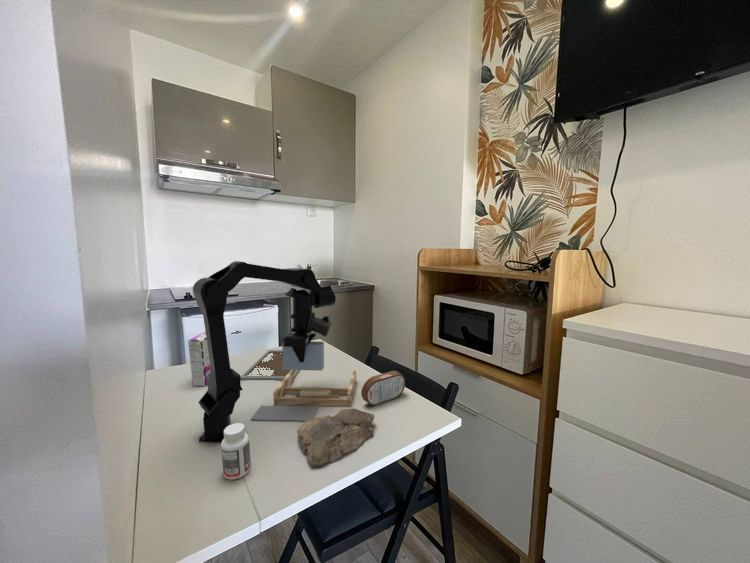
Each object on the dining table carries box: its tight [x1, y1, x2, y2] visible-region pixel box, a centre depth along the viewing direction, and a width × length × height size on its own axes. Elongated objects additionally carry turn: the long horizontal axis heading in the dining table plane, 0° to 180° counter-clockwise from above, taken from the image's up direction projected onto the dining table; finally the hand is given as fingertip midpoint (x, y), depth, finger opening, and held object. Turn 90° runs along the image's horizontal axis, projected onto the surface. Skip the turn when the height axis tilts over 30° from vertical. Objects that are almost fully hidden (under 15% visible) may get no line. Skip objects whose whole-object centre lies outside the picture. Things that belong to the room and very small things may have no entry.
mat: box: [250, 405, 319, 423], centre depth 85 cm, size 7×17×1 cm, turn 87°
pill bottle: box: [220, 422, 252, 481], centre depth 64 cm, size 5×5×10 cm
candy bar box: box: [187, 331, 211, 387], centre depth 106 cm, size 11×5×16 cm, turn 179°
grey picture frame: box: [240, 349, 301, 382], centre depth 121 cm, size 19×2×30 cm
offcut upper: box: [300, 388, 331, 398], centre depth 92 cm, size 3×9×2 cm, turn 81°
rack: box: [272, 370, 357, 408], centre depth 97 cm, size 16×23×4 cm
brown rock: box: [296, 408, 376, 468], centre depth 75 cm, size 14×5×20 cm
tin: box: [360, 370, 406, 406], centre depth 92 cm, size 15×3×8 cm, turn 123°
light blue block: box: [281, 341, 325, 372], centre depth 92 cm, size 3×12×8 cm, turn 88°
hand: (303, 360), depth 92 cm, fingers closed on light blue block, 3 cm apart
